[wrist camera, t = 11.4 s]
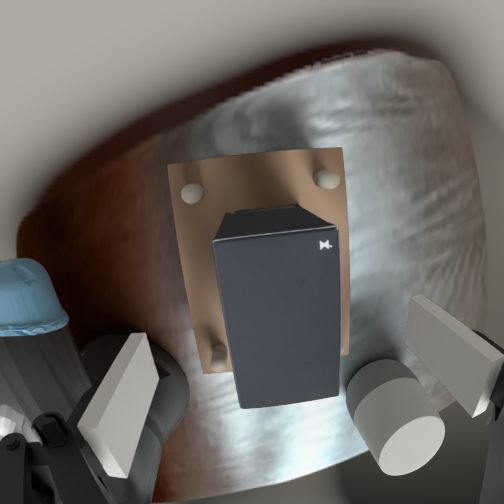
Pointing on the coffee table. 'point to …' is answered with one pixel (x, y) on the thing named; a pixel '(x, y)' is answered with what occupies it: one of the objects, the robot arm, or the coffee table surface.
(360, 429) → the smart speaker
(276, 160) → the pegged wooden board
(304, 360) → the small box
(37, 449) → the robot arm
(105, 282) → the coffee table surface
